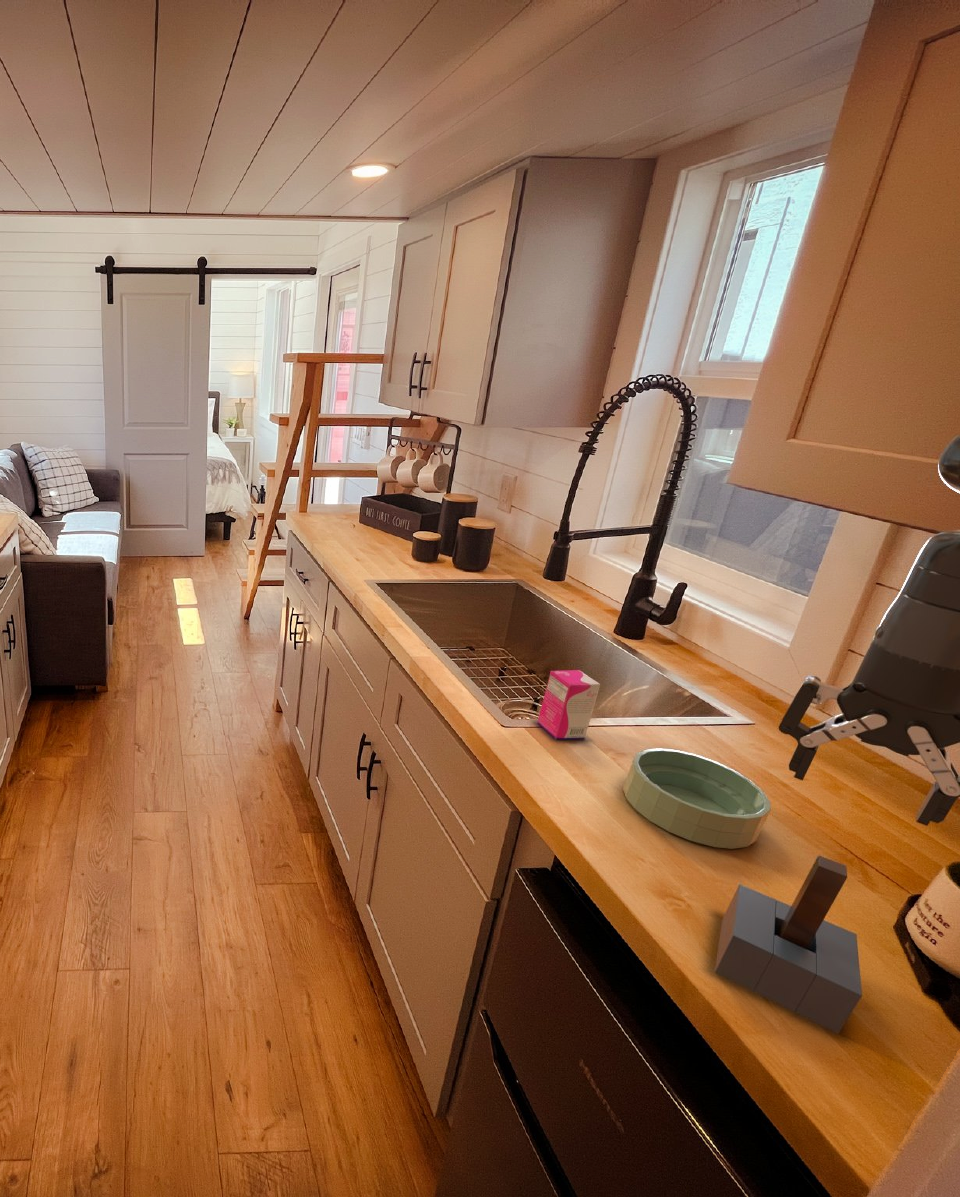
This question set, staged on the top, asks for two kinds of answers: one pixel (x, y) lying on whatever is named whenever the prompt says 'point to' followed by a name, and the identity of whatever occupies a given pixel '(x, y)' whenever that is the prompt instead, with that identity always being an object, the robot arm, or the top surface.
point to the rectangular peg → (813, 902)
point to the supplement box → (568, 704)
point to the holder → (789, 961)
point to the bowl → (696, 798)
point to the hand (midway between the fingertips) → (857, 797)
